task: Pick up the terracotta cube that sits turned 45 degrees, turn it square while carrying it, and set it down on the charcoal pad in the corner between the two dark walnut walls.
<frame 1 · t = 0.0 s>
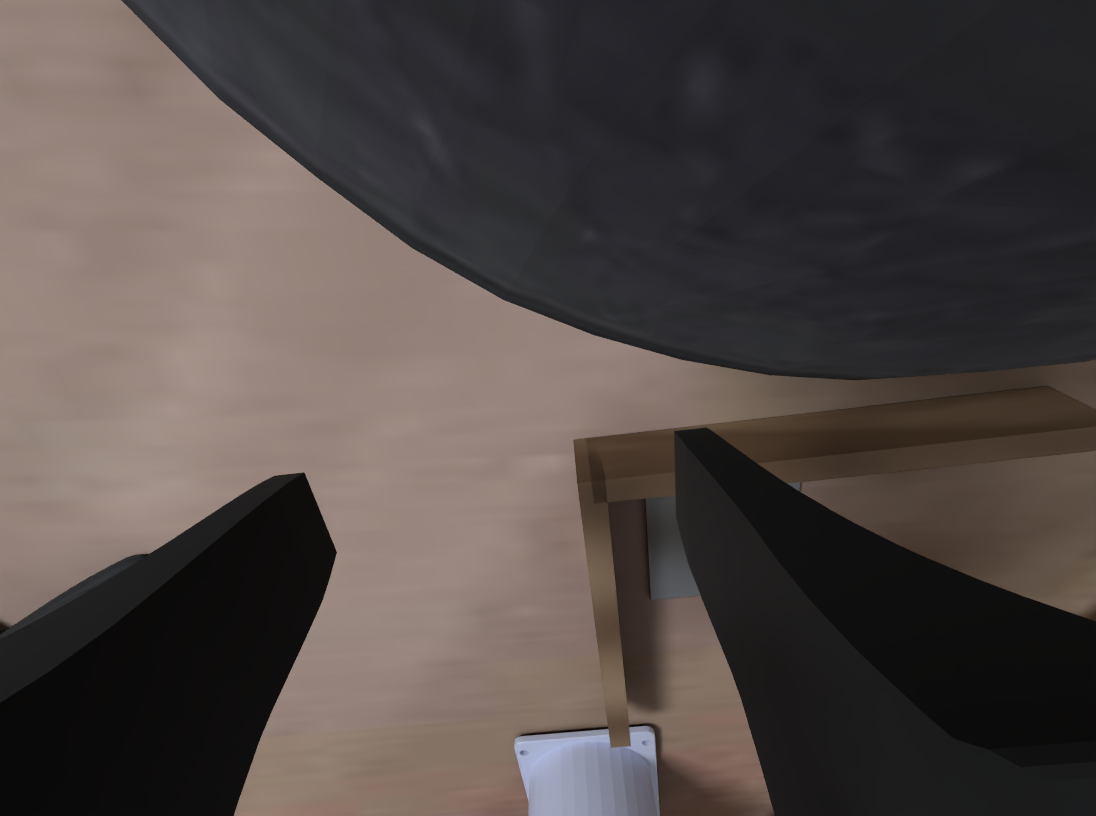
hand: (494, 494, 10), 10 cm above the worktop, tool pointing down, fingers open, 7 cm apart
can opener: (44, 614, 27), on the worktop
arena: (794, 563, 25), on the worktop
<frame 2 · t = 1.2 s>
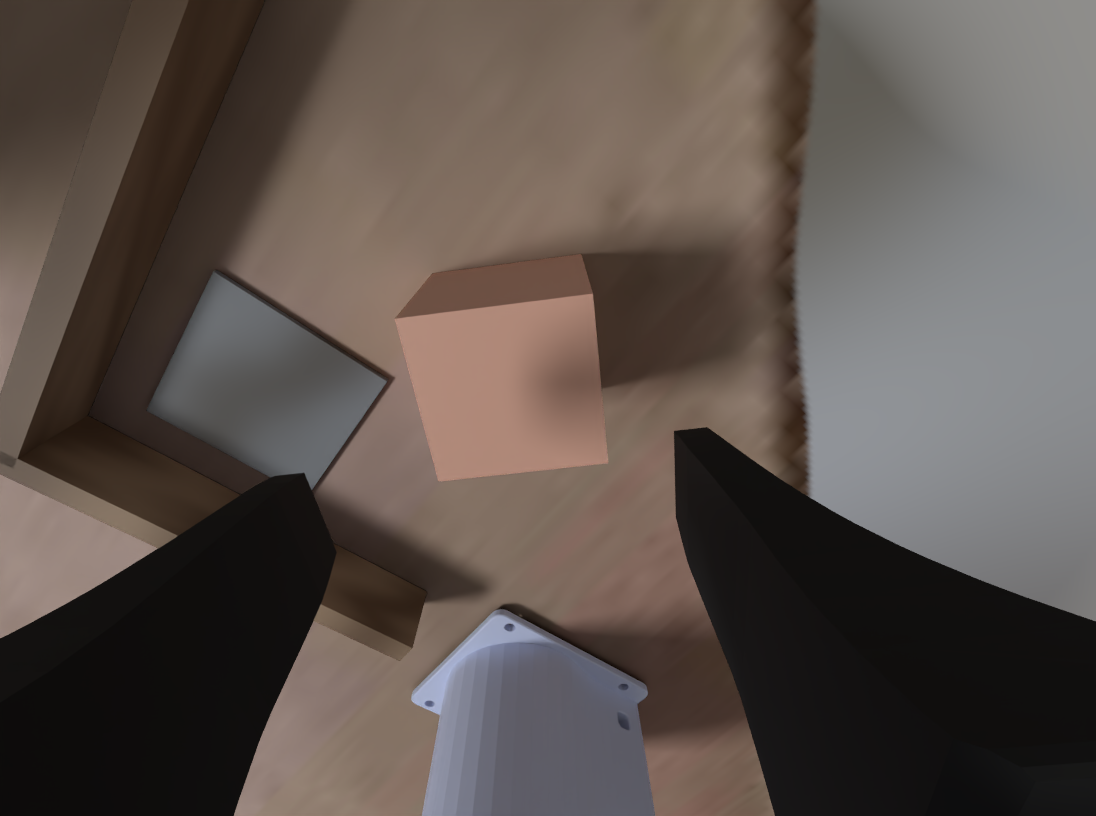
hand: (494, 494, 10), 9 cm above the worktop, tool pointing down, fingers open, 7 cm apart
arena: (361, 354, 19), on the worktop
cube: (517, 334, 19), on the worktop
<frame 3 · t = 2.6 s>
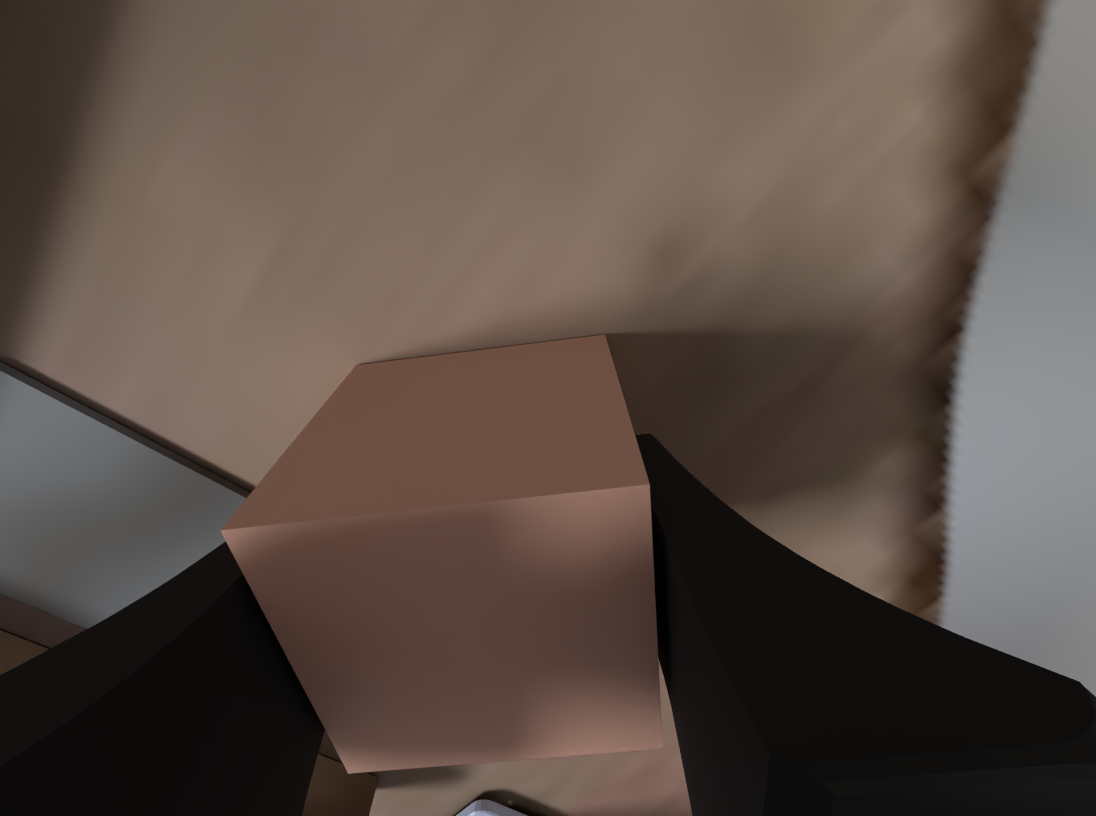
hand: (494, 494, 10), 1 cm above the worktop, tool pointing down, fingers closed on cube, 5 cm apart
arena: (252, 484, 12), on the worktop
cube: (500, 456, 12), on the worktop, touching gripper
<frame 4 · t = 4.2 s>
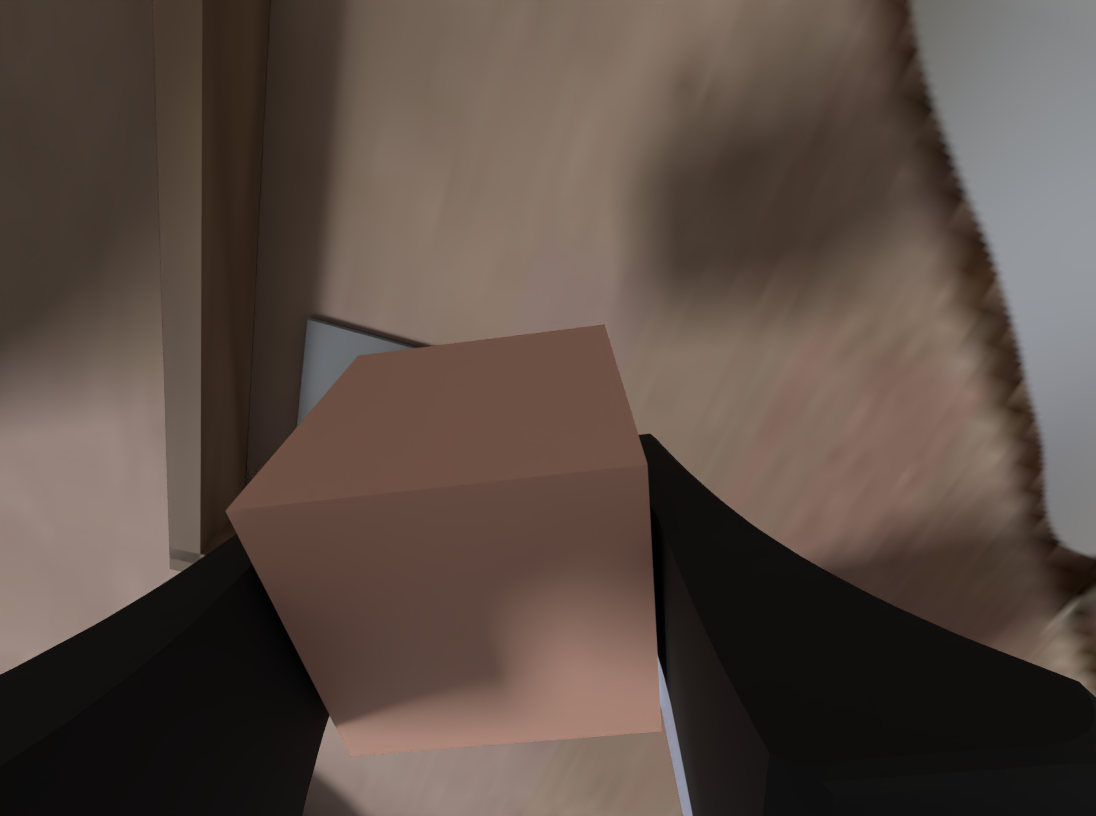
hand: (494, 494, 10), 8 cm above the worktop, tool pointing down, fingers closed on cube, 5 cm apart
arena: (468, 353, 18), on the worktop
cube: (500, 446, 12), point 7 cm above the worktop, touching gripper
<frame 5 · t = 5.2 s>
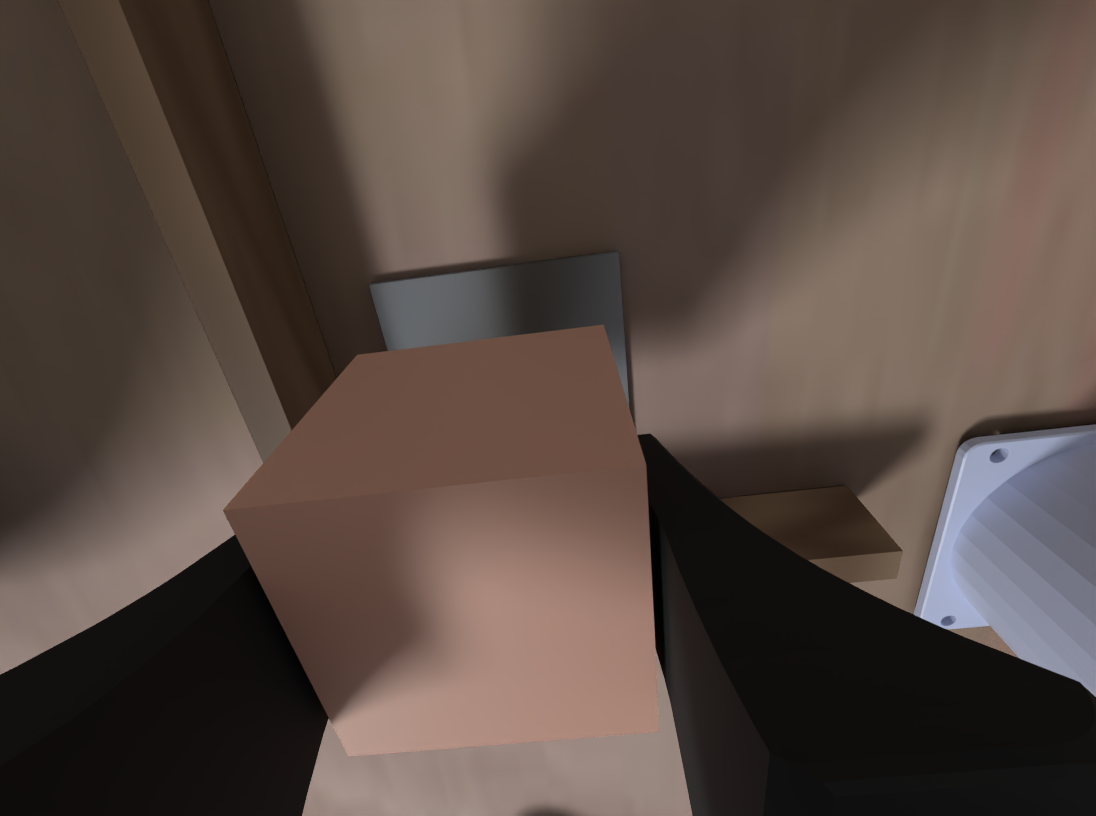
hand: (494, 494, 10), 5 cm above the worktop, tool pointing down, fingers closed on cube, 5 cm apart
arena: (568, 247, 14), on the worktop
cube: (499, 446, 12), point 4 cm above the worktop, touching gripper
when the fingers open (3 cm above the worktop, at t = 6.1 s): cube drops 1 cm, resting on arena.
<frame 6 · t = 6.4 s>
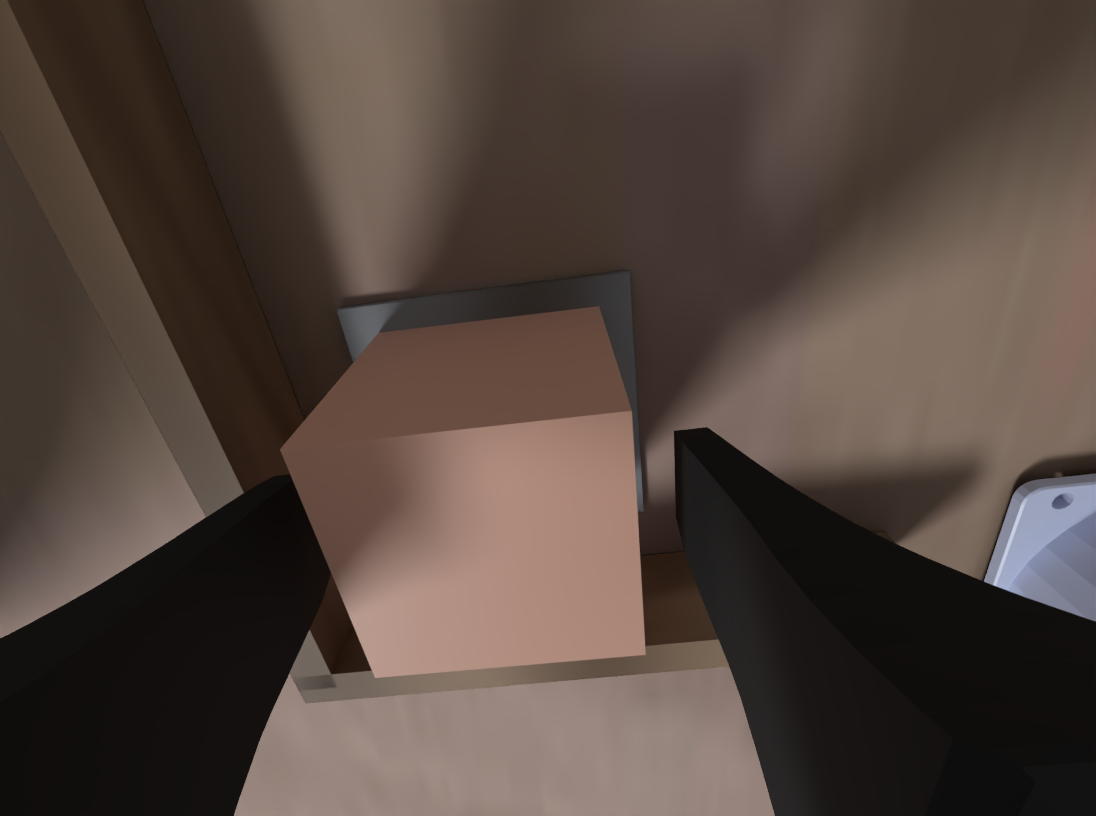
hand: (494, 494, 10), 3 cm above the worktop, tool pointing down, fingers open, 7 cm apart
arena: (570, 265, 12), on the worktop
cube: (505, 417, 13), resting on arena
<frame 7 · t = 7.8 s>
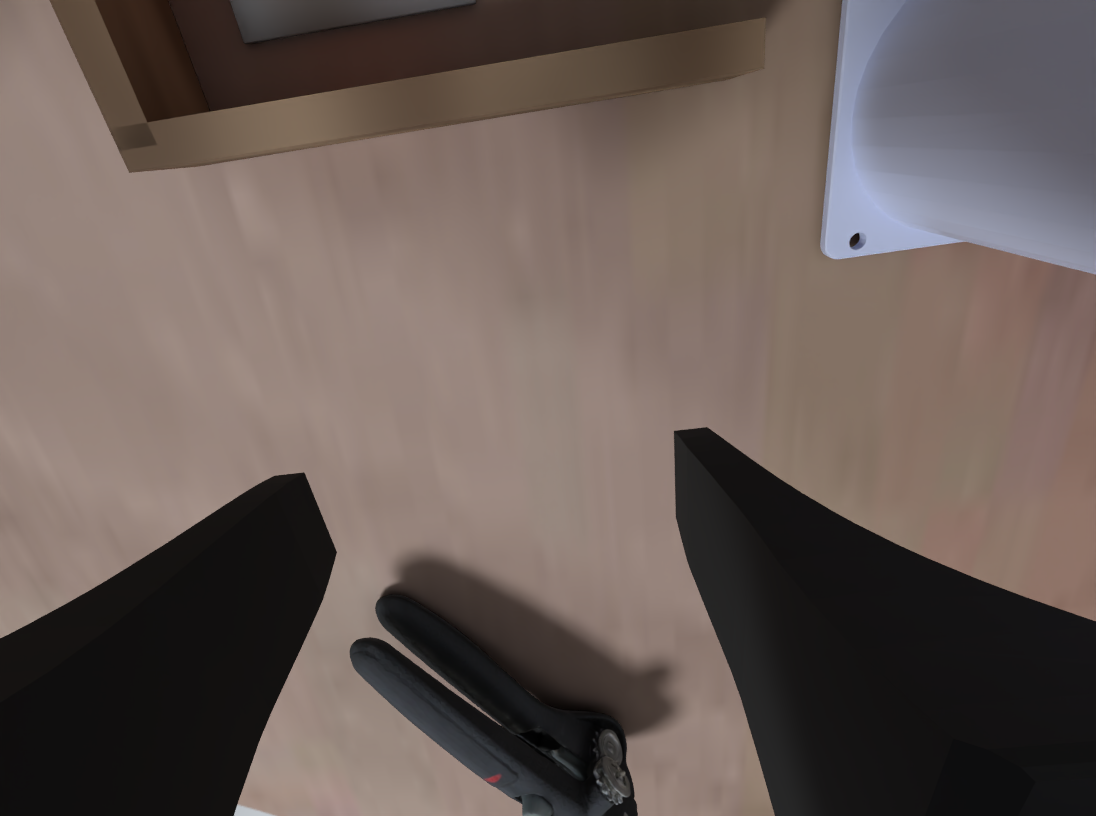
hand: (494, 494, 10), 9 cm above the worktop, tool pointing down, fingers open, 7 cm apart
can opener: (507, 677, 28), on the worktop
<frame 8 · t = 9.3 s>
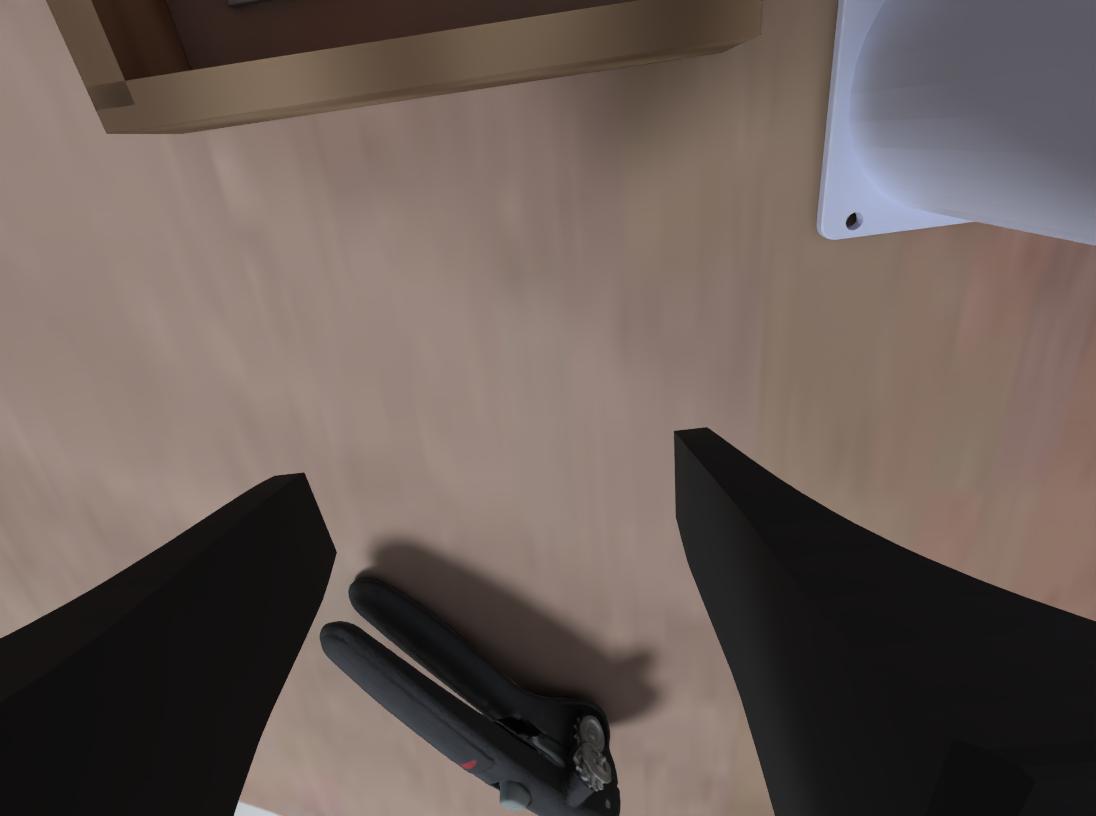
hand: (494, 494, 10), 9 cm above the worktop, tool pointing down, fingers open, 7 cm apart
can opener: (488, 663, 27), on the worktop
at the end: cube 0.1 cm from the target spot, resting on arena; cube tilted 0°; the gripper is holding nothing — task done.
